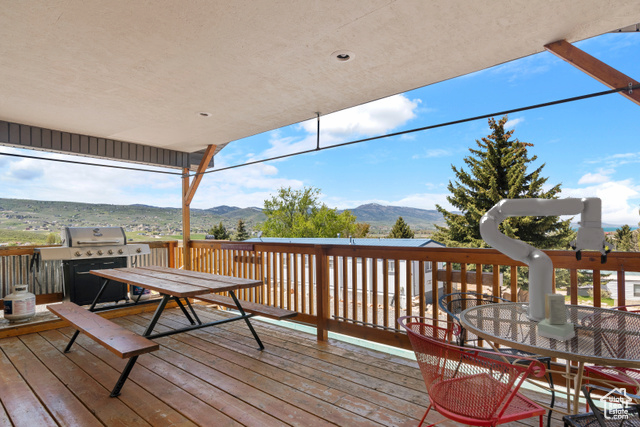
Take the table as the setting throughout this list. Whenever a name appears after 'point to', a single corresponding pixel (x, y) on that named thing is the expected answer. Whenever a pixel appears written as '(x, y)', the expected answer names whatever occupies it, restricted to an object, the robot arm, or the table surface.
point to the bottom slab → (556, 335)
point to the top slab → (556, 328)
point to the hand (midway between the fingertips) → (590, 261)
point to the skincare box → (555, 308)
